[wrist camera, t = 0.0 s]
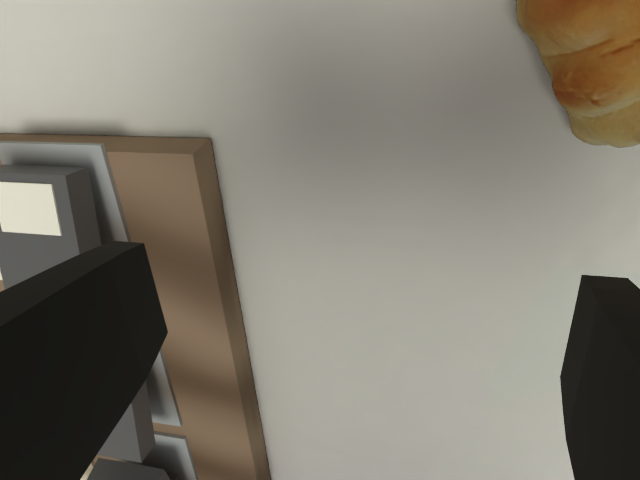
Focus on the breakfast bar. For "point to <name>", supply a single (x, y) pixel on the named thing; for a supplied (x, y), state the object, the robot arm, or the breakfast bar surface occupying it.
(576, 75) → the pastry
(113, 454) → the switch mid
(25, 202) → the switch
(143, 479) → the switch
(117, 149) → the switch panel
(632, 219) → the breakfast bar surface
